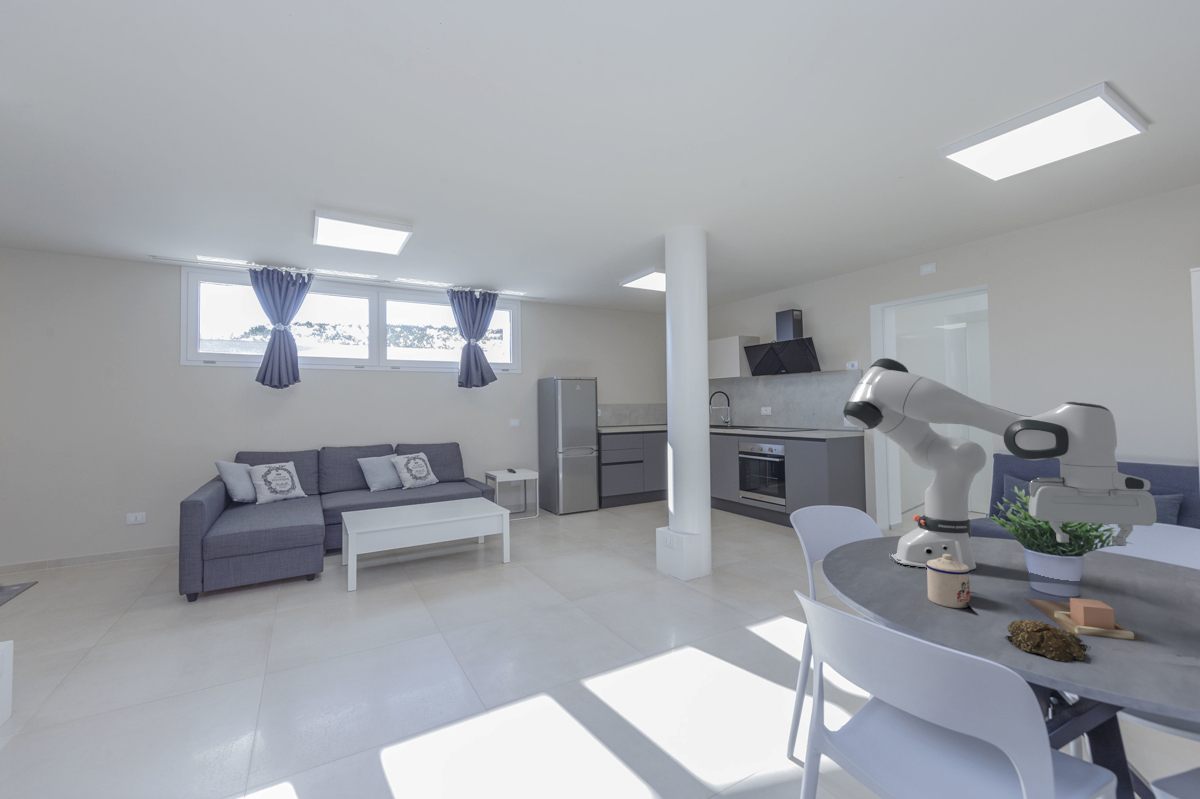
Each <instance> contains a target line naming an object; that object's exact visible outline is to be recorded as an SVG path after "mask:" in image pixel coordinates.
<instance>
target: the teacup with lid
mask: <svg viewBox="0 0 1200 799" xmlns="http://www.w3.org/2000/svg"><path fill="white" fill-rule="evenodd" d="M926 566H927V569H926V570H927V571H926V572H927V574H926V575H927V576H926V580H927V581H926V582H927V600H929V601H930V602H932V603H934V604H936V605H939V606H942V607H946V608H953V609H964V608H965V609H966V608H968V607H970V605H969V604H968V602H970V601H971V592H970V590H971V589H970V588H971V587H970V585H971V584H970V573H971V570H970V568H969V567H968V566H967V565H965V564H962V563H960V562H958V561H957V560H955V559H952V555H950V554H943V557H941V558H937V559H935V560H929V561H928V562H927V564H926Z"/></svg>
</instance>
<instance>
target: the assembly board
mask: <svg viewBox="0 0 1200 799" xmlns="http://www.w3.org/2000/svg"><path fill="white" fill-rule="evenodd" d="M1024 600H1025V601H1026V602H1027V603H1029V604H1030V605H1031V606H1032V607H1034V608H1036V610H1039V612H1041V613H1042V614H1044V615H1045V616H1046V617H1048V618H1049V619H1050V620H1051V621H1052V622H1054V623H1056V624H1057V625H1058V627H1060V628H1062V630H1065V631H1069V632H1072V633H1074V635H1079V636H1090V637H1096V638H1097V637H1099V638H1106V639H1107V638H1108V639H1117V640H1125V641H1127V640H1128V641H1135V642H1144V643H1145V642H1146V641H1145V640H1144V639H1142V638H1141V637H1139V636H1138V635H1136V634H1135V633H1134V632H1132V631H1131V630H1129V629H1128V628H1126V627H1125V626H1123V625H1121V624H1120V623H1118V622H1116V620H1114V627H1115V630H1114V629H1105V628H1095V627H1085V626H1080V625H1079V624H1077V623H1076V622H1074V621H1073V620H1072V619H1071V618H1070V602H1065V601H1052V600H1043V599H1034V598H1033V599H1032V598H1024Z"/></svg>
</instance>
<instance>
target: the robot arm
mask: <svg viewBox="0 0 1200 799" xmlns="http://www.w3.org/2000/svg"><path fill="white" fill-rule="evenodd" d="M842 414H843V416H844V418H845V419H846V420H847V421H848V422H849V423H850V424H852V425H853V426H854V427H857V428H861V429H863V430H873V429H876V430H877V431H879V432H880V433H881V434H883V436H885V437H888V438H889V439H890V440H892V442H894V443H896V444H897V445H899V447H901V449H903V450H904V451H905V452H906V454H908V458H909V459H910V461H911V462H912V463H913V464H915V465H917V466H919V467H921V468H923V469H925V470H927V471H934V475H933V479H932V482H931V483H930V485H929V486H928V487H927V488H926V489H925V490H924V514H923V515H922V516H920V515H918V514H914V515H913V518H912V519H913V520H914V521H915V522H917V527H916V528H914V529H912V530H911V531H908V532H907V533H906V534H904V535H902V536H901V537H900V538H899V540H898V543H897V547H896V548H897V549H896V551H897V553H896V554H894V555H893V554H892V555H891V556H892V557H893V558H894V559H895V560H896V561H898V560H901V561H898V562H900V563H903V564H908V565H915V566H921V567H927V566H926V564H927V562H928V561H929V560H935V559H937V558H941V557H943V554H950V555H952V559H955V560H957V561H958V562H960V563H962V564H965V565H967V566H968V567H969V568H970V571H972V570H974V569H976V568H977V564H976V562H975V560H974V559H975V558H974V556H973V551H972V546H971V534H972V526H971V520H970V519H969V493H970V489H971V485H972V483H973V481H974V478H975V477H976V475H977V474H978V473H980V472H981V471H982V470H983V469H984V468H985V466H986V463H987V453H986V451H985V449H984V448H983V447H982V446H981V445H980V444H979V443H978V442H974V441H972V440H969V439H966V438H963V437H952V436H951V437H949V436H945V435H941V434H939V433H937V432H936V431H934V429H932V427H931V426H930V423H931V424H941V425H942V424H943V425H944V424H945V425H947V424H948V425H949V424H951V425H965V426H970V427H974V428H978V429H980V430H983V431H986V432H988V433H991V434H994V435H996V436H1001V437H1002V438H1003V442H1004V445H1005V447H1006V449H1007V450H1008V452H1010V454H1012V455H1013V456H1016V457H1018V458H1020V459H1023V460H1028V461H1039V460H1040V461H1042V460H1047V459H1055V458H1056V459H1058V460H1059V471H1060V472H1059V477H1044V476H1040V477H1039V476H1037V477H1036V478H1035V479H1032V480H1031V481H1030V482H1029V484H1028V492H1029V500H1028V514H1029V515H1030V517H1031V518H1033V519H1035V520H1037V521H1041V522H1042V521H1043V522H1049V523H1048V524H1049V526H1050V527H1051V529H1053V531H1054V532H1055V533H1056V535H1055V537H1056V541H1057V542H1058V543H1062V544H1063V543H1064V544H1065V543H1067V544H1069V543H1070V534H1067V533H1065V532H1063V530H1062V529H1061V528H1060V527H1063V522H1064V523H1080V524H1081V523H1082V524H1102V525H1103V524H1106V525H1107V524H1108V525H1117V528H1119V531H1118V532H1117V534H1116V535H1111V543H1112V545H1114V546H1117V547H1126V546H1127V539H1128V538H1129V537H1130V535H1131V533H1132V532H1133V531H1134V528H1133V527H1134V526H1147V527H1152V526H1153V525H1154V524H1155V523H1156V522H1157V518H1158V517H1157V508H1156V502H1155V498H1154V496H1153V494H1151V492H1149V490H1150V489H1151V487H1152V486H1151V482H1150V481H1149V479H1148V480H1147V479H1145V478H1142V477H1138V476H1134V475H1130V474H1128V473H1125V472H1120V471H1118V470H1119V469H1118V467H1119V466H1118V465H1119V464H1118V462H1117V460H1116V457H1115V451H1116V449H1117V446H1118V444H1117V443H1118V441H1117V440H1118V439H1117V437H1118V436H1117V429H1116V422H1115V418H1114V414H1113V413H1112V410H1110V409H1108V408H1107V407H1105V406H1103V405H1100V404H1094V403H1087V402H1077V401H1067V402H1064V403H1062V404H1060V405H1059V406H1057V407H1055V408H1052V409H1050V410H1049V411H1046V412H1042V413H1040V414H1037V415H1033V416H1032V415H1031V416H1029V415H1022V414H1018V413H1015V412H1011V411H1009V410H1005V409H1002V408H999V407H996V406H993V405H990V404H986V403H984V402H981V401H978V400H976V399H973V398H971V397H969V396H967V395H965V394H963V393H962V392H960V391H958V390H955V389H954V388H951V387H950V386H948V385H945V384H943V383H941V382H938V381H936V380H933V379H931V378H928V377H925V376H921V375H918V374H915V373H910V372H909V370H908V368H907V367H906V366H905V365H904V364H902V362H899V361H898V360H895V359H892V358H879V359H877V360H876V361H875V362H873V363H872V365H870V366H869V369H868V371H866V373H865V374H864V375H863V376H862V378H861V379H860V380H859V381H858V383H857V385H856V387H855V389H854V390H853V392H852V394H851V396H850V398H849V399H848V401H846V403H845V405H844V408H843V411H842ZM897 559H898V560H897Z"/></svg>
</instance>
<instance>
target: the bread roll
mask: <svg viewBox="0 0 1200 799" xmlns="http://www.w3.org/2000/svg"><path fill="white" fill-rule="evenodd" d="M1006 629H1007V631H1008V632H1009V634H1010V635H1006V638H1007V640H1008V641H1009V642H1010V643H1011V644H1012V645H1013V647H1015V648H1016V649H1018V650H1020V651H1023V652H1025V653H1033V654H1038V655H1041V656H1044V657H1047V658H1048V659H1049V660H1052V661H1056V662H1060V663H1063V662H1064V663H1069V662H1072V661H1076V662H1077V661H1085V659H1086V658H1087V654H1086V652H1087V647H1086V644H1084V643H1082V640H1081V638H1080V637H1079V636H1078V635H1076V634H1074V633H1072V632H1069V631H1066V630H1065V629H1063V628H1062V629H1061V627H1057V626H1055V625H1051V624H1049V623H1046V622H1043V621H1040V620H1031V619H1024V620H1023V619H1020V620H1019V619H1018V620H1014V621H1011V622H1010V624H1008V625H1007V628H1006Z"/></svg>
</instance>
